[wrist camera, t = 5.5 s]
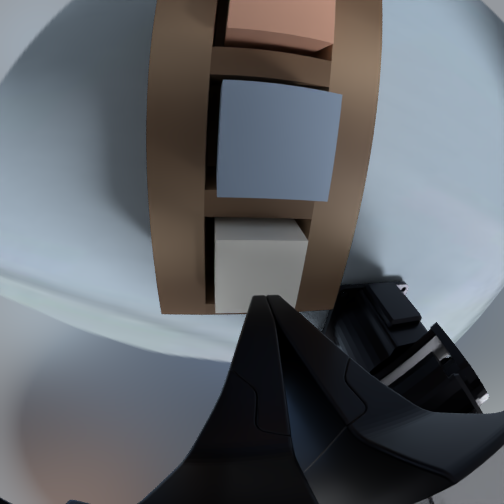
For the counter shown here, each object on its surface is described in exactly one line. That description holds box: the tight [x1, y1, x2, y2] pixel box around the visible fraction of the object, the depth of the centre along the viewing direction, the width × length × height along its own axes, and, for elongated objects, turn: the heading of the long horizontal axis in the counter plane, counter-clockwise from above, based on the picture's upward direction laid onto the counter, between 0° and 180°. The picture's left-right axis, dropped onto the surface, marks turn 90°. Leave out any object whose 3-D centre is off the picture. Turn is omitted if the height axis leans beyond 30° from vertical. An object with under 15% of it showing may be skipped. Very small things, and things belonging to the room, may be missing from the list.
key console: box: [146, 0, 382, 315], centre depth 11 cm, size 15×8×5 cm, turn 175°
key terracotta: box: [224, 0, 336, 56], centre depth 7 cm, size 3×3×4 cm
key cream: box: [214, 217, 308, 313], centre depth 12 cm, size 3×3×4 cm
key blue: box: [216, 80, 342, 202], centre depth 9 cm, size 3×3×4 cm
